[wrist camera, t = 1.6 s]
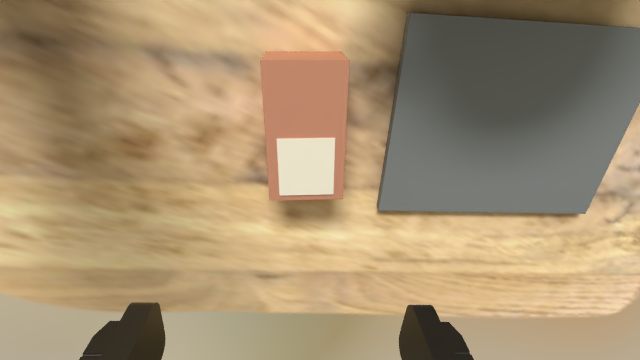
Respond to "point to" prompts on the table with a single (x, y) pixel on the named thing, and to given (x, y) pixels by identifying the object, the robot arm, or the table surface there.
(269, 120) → the card box
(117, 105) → the table surface
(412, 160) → the slate mat
